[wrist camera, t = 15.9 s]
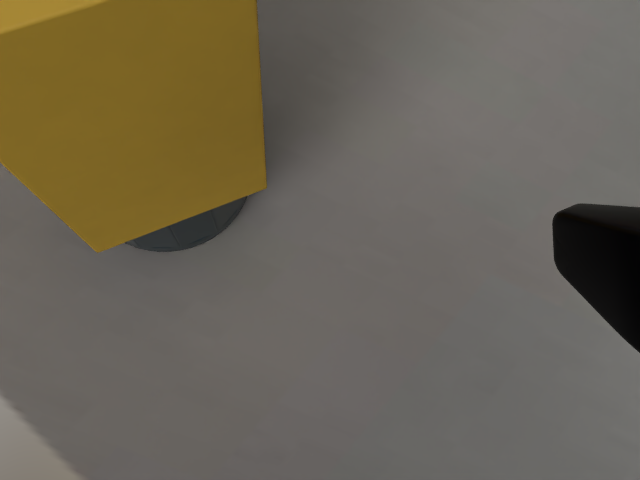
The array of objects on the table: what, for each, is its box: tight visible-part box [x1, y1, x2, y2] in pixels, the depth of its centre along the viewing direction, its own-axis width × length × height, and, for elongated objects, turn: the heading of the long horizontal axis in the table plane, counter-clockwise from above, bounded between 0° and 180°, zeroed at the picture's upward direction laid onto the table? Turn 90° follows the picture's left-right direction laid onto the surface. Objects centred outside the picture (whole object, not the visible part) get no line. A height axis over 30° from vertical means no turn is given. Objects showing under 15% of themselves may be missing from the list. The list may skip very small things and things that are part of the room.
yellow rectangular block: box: [0, 0, 267, 252], centre depth 13 cm, size 5×6×9 cm
